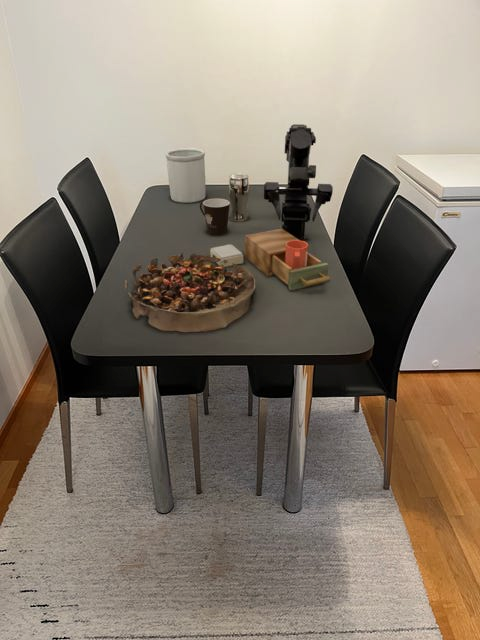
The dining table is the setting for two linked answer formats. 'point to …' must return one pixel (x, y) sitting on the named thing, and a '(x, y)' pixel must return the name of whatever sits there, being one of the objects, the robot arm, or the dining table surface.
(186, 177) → the utensil holder
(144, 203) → the dining table surface
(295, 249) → the red mug
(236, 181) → the beer glass
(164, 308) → the food dish
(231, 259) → the kitchen scale
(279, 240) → the cabinet
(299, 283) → the drawer
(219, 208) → the coffee mug
